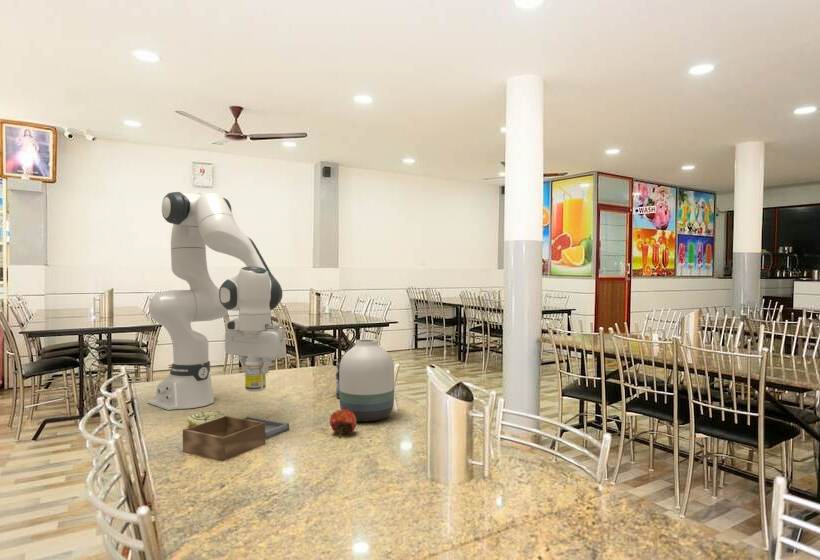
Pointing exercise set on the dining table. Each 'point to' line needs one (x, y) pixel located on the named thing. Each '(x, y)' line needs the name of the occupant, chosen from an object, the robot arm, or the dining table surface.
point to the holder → (223, 437)
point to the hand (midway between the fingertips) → (255, 372)
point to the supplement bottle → (254, 374)
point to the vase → (367, 381)
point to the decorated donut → (204, 417)
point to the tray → (271, 426)
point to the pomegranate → (343, 421)
